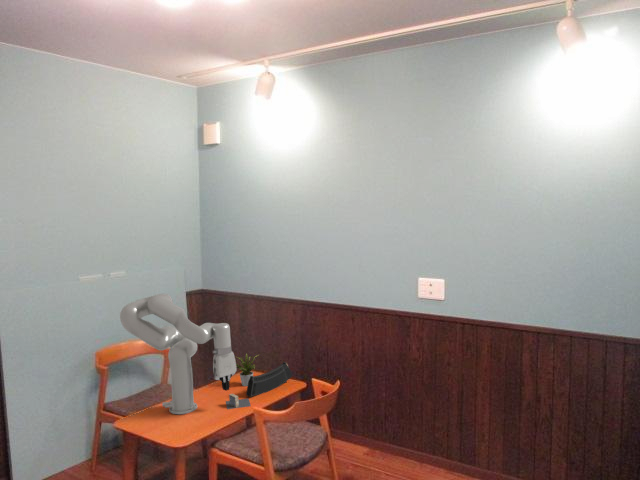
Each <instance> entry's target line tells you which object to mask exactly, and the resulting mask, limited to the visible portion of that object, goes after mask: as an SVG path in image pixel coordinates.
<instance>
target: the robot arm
mask: <svg viewBox="0 0 640 480" xmlns="http://www.w3.org/2000/svg"><path fill="white" fill-rule="evenodd" d="M150 315H154V316H156V317H158V318H159V319H161V320H163V321H165V322H167V323H169V324H170V325H166V326H163V327H158V326H157V325H155V324H153V323H152V322H150V321H149V320H144V319H143V318H144V317H147V316H150ZM119 319H120V323H121V325H122V327H123V328H124V329H125V330H126V331H127V332H128V333H129V334H131V335H133V336H135V337H137V338H138V339H139V340H141V341H143V342H144V343H146V344H148V345H149V346H151V347H152V348H154V349H156V350H157V351H165V350H167V349H169V351H168V354H167V355H168V362H169V367H170V381H171V400H169V401H164V402H162V407H163V408H165V409H167V408H169V409H168V410H169V413H170V414H173V415H186V414H190V413H193V412H194V411H196V410H197V409H198V404H197V403H196V402H194V401H195V399H194V381H193V367H192V363H191V358H192V357H194V355H195V354H196V353H197V351H198V344H199V345H203V344H206V343H207V342H209V341H210V340H212V339H213V345H214V350H212V354H213V359H212V360H213V361H212V371H213V376H214V377H213V379H214V380H215V381H220V382H221V388H222V390H223V391H229V390H230V381H231V378H232V376H234V375H236V372H237V371H238V370H237V369H238V368H236V367H237V366H236V364H237V362H236V356H235V354H234V351H232V340H231V327H230V324H229V323H227V322H221V323H219V322H218V323H213V322H205V323H203V324H201V325H199V324H198V325H197V324H195V323H194V322H192V321H191V320H190V319H189V318H188V317H187V314H186V310H185V309H184V308H182V307H180V306H179V305H177V304H175V303H174V300H173V298H172V297H171V295H169V294H168V293H159V294H155V295H151V296H147V297H143V298H140V299H137V300H135V301H131V302H130V303H127V304H126V305H124V306H123V307H122V309H121V311H120V313H119Z"/></svg>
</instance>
